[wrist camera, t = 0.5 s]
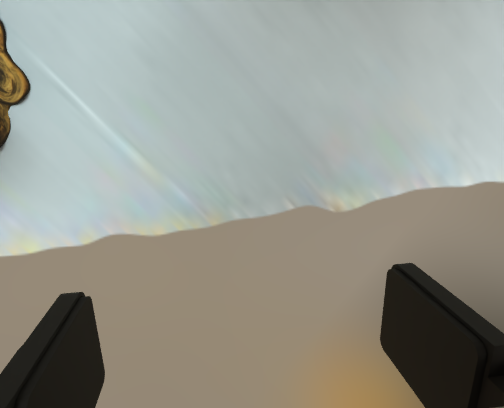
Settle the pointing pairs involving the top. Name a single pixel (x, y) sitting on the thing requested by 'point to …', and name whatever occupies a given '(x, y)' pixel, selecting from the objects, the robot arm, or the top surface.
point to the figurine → (9, 86)
